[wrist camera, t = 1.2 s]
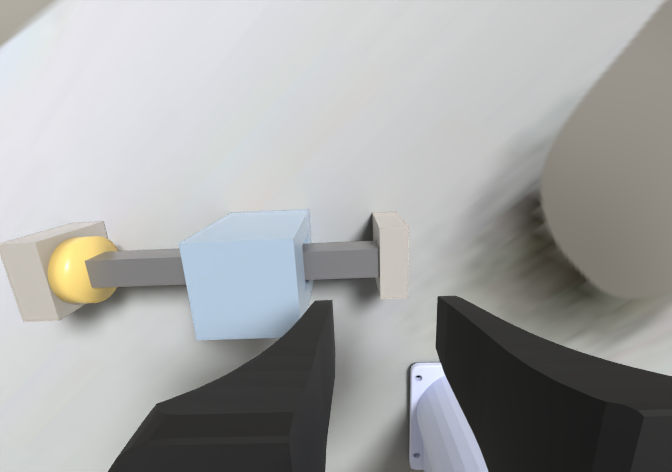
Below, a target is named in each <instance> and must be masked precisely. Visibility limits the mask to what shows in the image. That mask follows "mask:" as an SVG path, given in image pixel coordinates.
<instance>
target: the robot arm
mask: <svg viewBox="0 0 672 472" xmlns="http://www.w3.org/2000/svg"><path fill="white" fill-rule="evenodd" d="M436 350H437V353H438V356H439V359H440V362H439V363H416V364H414V365H412V367H411V375H410V439H409V463H410V467H411V468H412V469H414V470H424V472H672V376H667V375H663V374H659V373H655V372H650V371H646V370H642V369H638V368H634V367H630V366H626V365H622V364H618V363H615V362H611V361H608V360H604V359H601V358H598V357H595V356H591V355H588V354H585V353H582V352H579V351H576V350H573V349H570V348H567V347H564V346H562V345H559V344H556V343H554V342H551V341H549V340H546V339H543V338H541V337H539V336H536V335H534V334H532V333H529V332H527V331H525V330H523V329H521V328H519V327H516V326H514V325H512V324H510V323H508V322H506V321H504V320H502V319H500V318H498V317H496V316H494V315H492V314H491V313H489V312H487V311H485V310H483V309H481V308H479V307H477V306H476V305H474V304H472V303H470V302H468V301H466V300H464V299H462V298H460V297H457V296H438V303H437V329H436ZM417 375H420V377H418V378H416V376H417ZM334 379H335V340H334V323H333V305H332V300H323V301H315V302H314V303H313V304H312V305H311V306H310V307H309V308H308V310H307V311H306V312H305V313H304V314H303V315H302V317H301V318H300V319H299V320H298V321H297V322H296V323H295V324H294V325H293V326H292V328H291V329H290V330H289V331H288V332H286V333H285V334H284V335H283V336H282V337H281V338H280V339H279V340H278V341H277V342H276V343H274V344H273V345H272V346H271V347H269V348H268V349H267V350H265V351H264V352H263V353H261V354H260V355H258V356H257V357H255V358H254V359H252V360H251V361H249V362H247V363H246V364H244V365H242V366H241V367H239V368H238V369H236V370H234V371H232V372H231V373H229V374H227V375H225V376H223V377H221V378H219V379H217V380H215V381H213V382H211V383H208V384H206V385H204V386H202V387H200V388H197V389H195V390H192V391H190V392H187V393H185V394H182V395H179V396H177V397H174V398H172V399H169V400H166V401H164V402H161V403H158V404H156V406H155V407H154V408H153V409H152V411H151V412H150V413H149V414H148V416H147V417H146V418H145V420H144V421H143V422H142V424H141V425H140V426H139V428H138V429H137V431H136V432H135V433H134V435H133V436H132V438H131V439H130V440H129V442H128V443H127V445H126V446H125V447H124V449H123V450H122V452H121V453H120V454H119V456H118V457H117V459H116V460H115V462H114V463H113V465H112V466H111V468H110V469H109V471H108V472H325V462H326V444H327V434H328V426H329V418H330V410H331V403H332V395H333V387H334Z"/></svg>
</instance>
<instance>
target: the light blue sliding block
mask: <svg viewBox="0 0 672 472" xmlns="http://www.w3.org/2000/svg"><path fill="white" fill-rule="evenodd" d="M306 243H311V229H310V215H309V209H304V210H282V211H259V212H236V213H230V214H228V215H226V216H225V217H223V218H221V219H219V220H218V221H216V222H214V223H213V224H211V225H209V226H207V227H206V228H204V229H202V230H201V231H199V232H197V233H195V234H194V235H192V236H190V237H189V238H187V239H185V240H183V241H182V242H180V243H179V248H180V253H181V259H182V264H183V270H184V275H185V280H186V286H187V291H188V296H189V302H190V307H191V313H192V318H193V323H194V329H195V334H196V340H224V339H256V338H281V337H282V336H283V335H284V334H285V333H286V332H288V331H289V330H290V329H291V328H292V326H293V325H294V324H295V323H296V322H297V321H298V320H299V319H300V318H301V317H302V315H303V314H304V313H305V312H306V311H307V310H308V306H309V301H310V296H311V292H312V287H313V282H314V280H305V274H304V262H303V249H302V245H303V244H306Z"/></svg>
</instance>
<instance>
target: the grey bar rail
mask: <svg viewBox="0 0 672 472" xmlns="http://www.w3.org/2000/svg"><path fill="white" fill-rule="evenodd" d="M372 214H373V241H355V242H330V243H306V244H303V245H302V249H303V262H304V274H305V280H318V279H345V278H371V277H375V279H376V283H377V287H378V291H379V295H380V299H396V298H408V266H409V226H408V225H407V224H406V223H405V221H404V220H403V219H402V218H401V217H400V216H399V214H398V213H397V212H378V213H372ZM0 256H1V258H2V261H3V264H4V267H5V270H6V273H7V276H8V279H9V282H10V285H11V288H12V291H13V293H14V296H15V299H16V302H17V305H18V308H19V311H20V314H21V317H22V320H23V322H31V321H59V320H61V319H62V318H64V317H66V316H67V315H69V314H71V313H72V312H74V311H76V310H77V309H79V308H80V307H82V306H84V305H85V304H87V303H99V302H102V301H105V300H106V299H108V298H109V297H110V296H111V295H112V294H113V293H114V292H115V290H116V289H117V287H130V286H157V285H184V284H186V280H185V275H184V270H183V264H182V259H181V253H180V249H159V250H134V251H118V249H117V248H116V246H115V245H114V244H113V243H112V242H111V241H110V240H108V238H107V234H106V230H105V226H104V222H103V221H102V222H79V223H71V224H67V225H63V226H60V227H56V228H53V229H49V230H45V231H42V232H38V233H35V234H31V235H27V236H24V237H20V238H17V239H13V240H10V241H6V242H2V243H0Z"/></svg>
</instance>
